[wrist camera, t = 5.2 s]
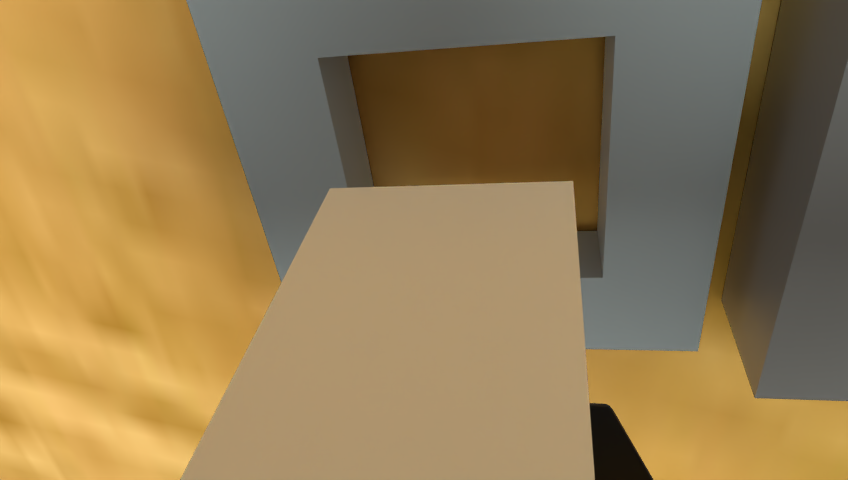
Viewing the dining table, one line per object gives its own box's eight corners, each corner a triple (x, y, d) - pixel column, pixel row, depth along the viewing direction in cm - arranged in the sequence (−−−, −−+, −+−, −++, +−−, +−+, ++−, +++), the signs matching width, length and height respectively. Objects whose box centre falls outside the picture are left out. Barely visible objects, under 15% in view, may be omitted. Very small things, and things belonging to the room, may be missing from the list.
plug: (573, 180, 10) (627, 932, 3) (570, 358, 12) (601, 1004, 6) (329, 187, 11) (9, 811, 4) (371, 353, 13) (204, 917, 7)
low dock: (752, -146, 12) (785, -132, 10) (683, 299, 18) (697, 351, 16) (209, -78, 14) (166, -59, 12) (321, 298, 20) (302, 343, 19)
